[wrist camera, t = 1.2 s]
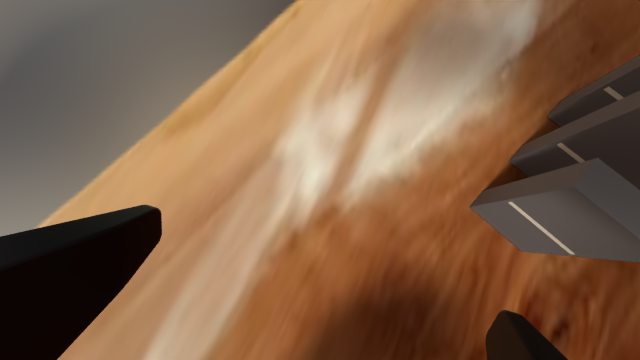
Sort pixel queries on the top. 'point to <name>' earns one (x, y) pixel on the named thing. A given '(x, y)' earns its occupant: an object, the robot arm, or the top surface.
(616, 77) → the domino
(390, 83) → the top surface
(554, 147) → the domino
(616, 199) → the domino
